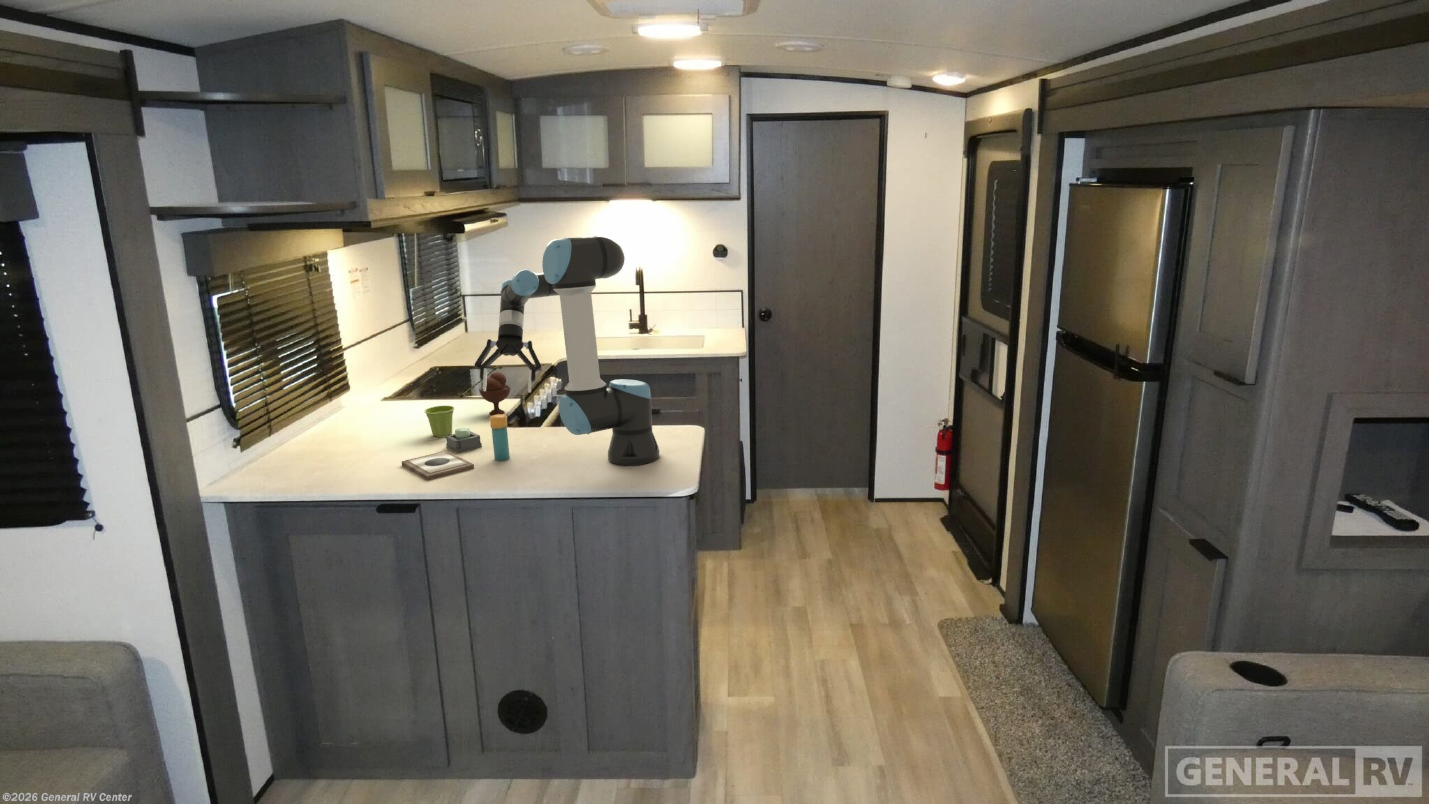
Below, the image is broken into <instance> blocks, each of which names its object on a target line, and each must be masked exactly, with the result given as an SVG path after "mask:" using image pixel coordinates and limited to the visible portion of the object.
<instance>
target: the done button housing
mask: <svg viewBox="0 0 1429 804" xmlns="http://www.w3.org/2000/svg"><path fill="white" fill-rule="evenodd" d="M445 439H446V443H445V446H446V448H448V449H449V450H451V451H454V452H456V453H461V452H462V453H463V452H467V451H470V450H474V449H478V448H482V446H483V445H482V442H481V435H480V434H477V433H476V432H473V431H470V437H468V438H464V439H460V440H458V439H456V436H455V433H452V434H451V435H447V436H445Z"/></svg>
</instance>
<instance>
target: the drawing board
mask: <svg viewBox="0 0 1429 804" xmlns="http://www.w3.org/2000/svg"><path fill="white" fill-rule="evenodd" d="M400 463H401V466H402V467H404V468H406V469H408V470H409V471H410V472H413V473H415V475H418V476H420V477H422V478H423V479H425V480H427V481H429V480H434V479H436V478H437V479H438V478H441V477H445V476H448V475H453V474H456V473H461V472H465V471H467V470H472V469H474V468H475V465H474V463H473V462H470V461H468V460H467V459H465V458H463V457H460V456H459V455H457V454H454V453H452V452H450V451H449V450H443V451H438V452H435V453H431V454H426V455H422V456H418V457H414V458H410V459H406V460H405V459H404V460H401V462H400Z"/></svg>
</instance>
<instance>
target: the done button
mask: <svg viewBox="0 0 1429 804" xmlns="http://www.w3.org/2000/svg"><path fill="white" fill-rule="evenodd" d="M470 429H471V428H469V427H460V428H456V429H455V430H454V434H455V436H456V439H458V440H460V439H464V438H468V437H470Z"/></svg>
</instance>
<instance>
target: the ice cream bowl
mask: <svg viewBox="0 0 1429 804" xmlns="http://www.w3.org/2000/svg"><path fill="white" fill-rule="evenodd" d="M506 383H507V377H506V375H505V374H504V373H502V372H499V371H495V372H492V373H491V374H490V375H489V377H487V385H486V391H483V381H482V382H481V387H479V388H478V391H479V393H480V395H481V398H483V399H484V400H485V401H486V402H489V403H492V405H493V409H492V410H491V411H489V413H488V414H489V416H493V415H498V414H503V415H505V414H506V412H505V410H503V409H501V408H500V406H499V404H500V402H503V401H504V400H505V399H507V398H508V396H509V395H510V392H511V386H510V384H506Z"/></svg>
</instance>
